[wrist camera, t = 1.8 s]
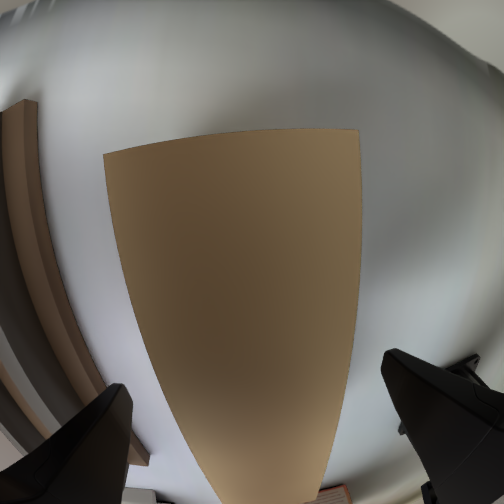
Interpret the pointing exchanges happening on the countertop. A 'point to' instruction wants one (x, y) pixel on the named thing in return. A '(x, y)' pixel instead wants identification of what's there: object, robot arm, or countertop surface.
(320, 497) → the cracker box
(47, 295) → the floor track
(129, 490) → the grey upright panel
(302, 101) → the countertop surface
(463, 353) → the countertop surface
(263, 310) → the wooden block
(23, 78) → the countertop surface
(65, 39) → the countertop surface
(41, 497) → the robot arm
